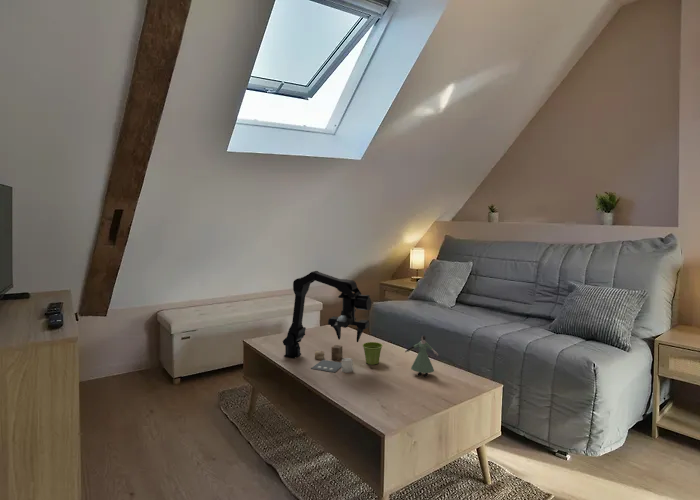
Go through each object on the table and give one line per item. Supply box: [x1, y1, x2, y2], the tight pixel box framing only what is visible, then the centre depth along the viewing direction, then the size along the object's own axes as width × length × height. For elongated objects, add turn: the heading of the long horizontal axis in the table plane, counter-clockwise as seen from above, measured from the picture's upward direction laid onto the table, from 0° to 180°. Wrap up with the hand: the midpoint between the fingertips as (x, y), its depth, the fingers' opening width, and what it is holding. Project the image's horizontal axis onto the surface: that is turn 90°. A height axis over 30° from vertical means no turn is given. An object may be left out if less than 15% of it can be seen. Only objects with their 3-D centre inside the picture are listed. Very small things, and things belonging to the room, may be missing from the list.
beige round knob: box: [314, 350, 325, 361], centre depth 225 cm, size 5×5×3 cm
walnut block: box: [331, 344, 343, 361], centre depth 225 cm, size 4×4×6 cm
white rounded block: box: [341, 357, 354, 374], centre depth 209 cm, size 5×5×5 cm
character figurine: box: [404, 334, 439, 378], centre depth 203 cm, size 16×8×18 cm, turn 59°
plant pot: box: [362, 341, 383, 366], centre depth 219 cm, size 9×9×9 cm
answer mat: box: [310, 359, 342, 373], centre depth 214 cm, size 12×12×1 cm
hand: (348, 340), depth 215 cm, fingers open, 9 cm apart
